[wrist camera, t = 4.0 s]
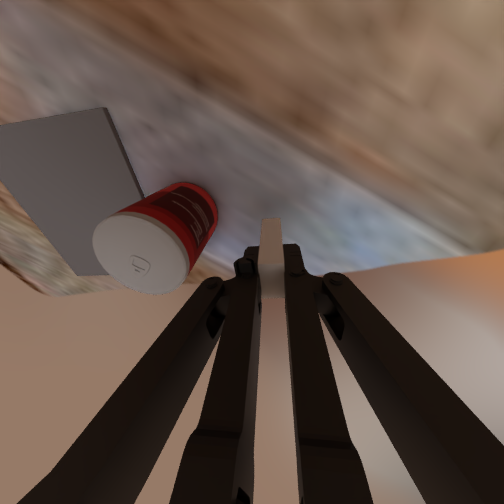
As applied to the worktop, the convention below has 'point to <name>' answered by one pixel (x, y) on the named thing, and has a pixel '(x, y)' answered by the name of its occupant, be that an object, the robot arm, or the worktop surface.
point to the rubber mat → (68, 179)
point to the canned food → (156, 238)
